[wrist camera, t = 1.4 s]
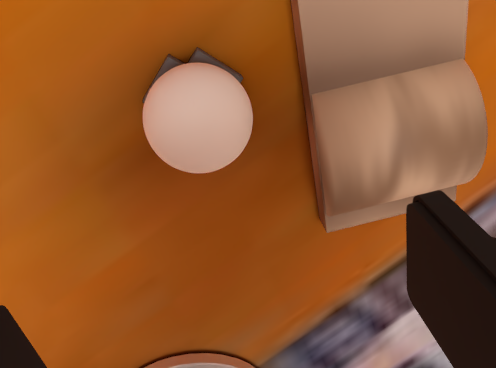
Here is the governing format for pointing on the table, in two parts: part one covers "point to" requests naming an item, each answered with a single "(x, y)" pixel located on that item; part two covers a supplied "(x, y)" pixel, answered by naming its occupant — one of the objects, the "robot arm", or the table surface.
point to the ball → (197, 117)
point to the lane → (387, 104)
